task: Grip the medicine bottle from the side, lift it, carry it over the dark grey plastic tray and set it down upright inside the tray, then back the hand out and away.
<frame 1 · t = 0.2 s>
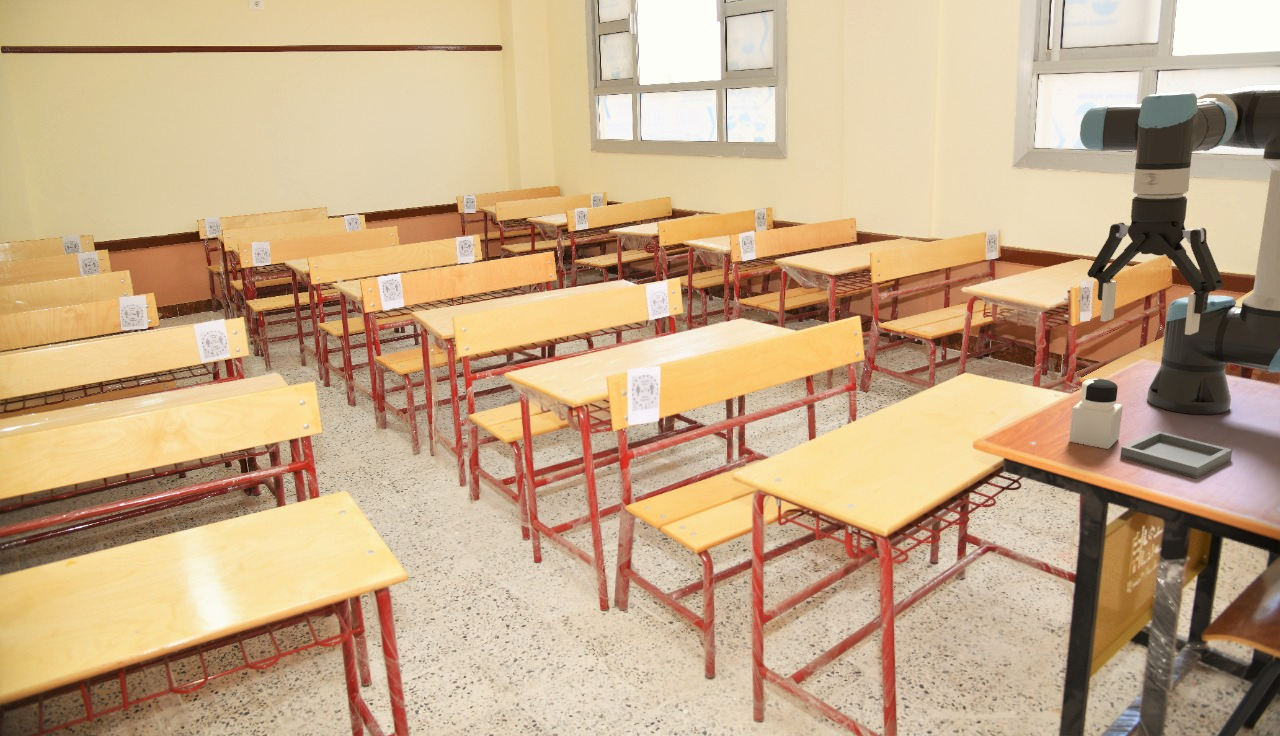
hand: (1147, 326, 145), 27 cm above the table, tool pointing down, fingers open, 13 cm apart
medicine bottle: (1093, 441, 171), on the table
bottle tray: (1174, 458, 161), on the table
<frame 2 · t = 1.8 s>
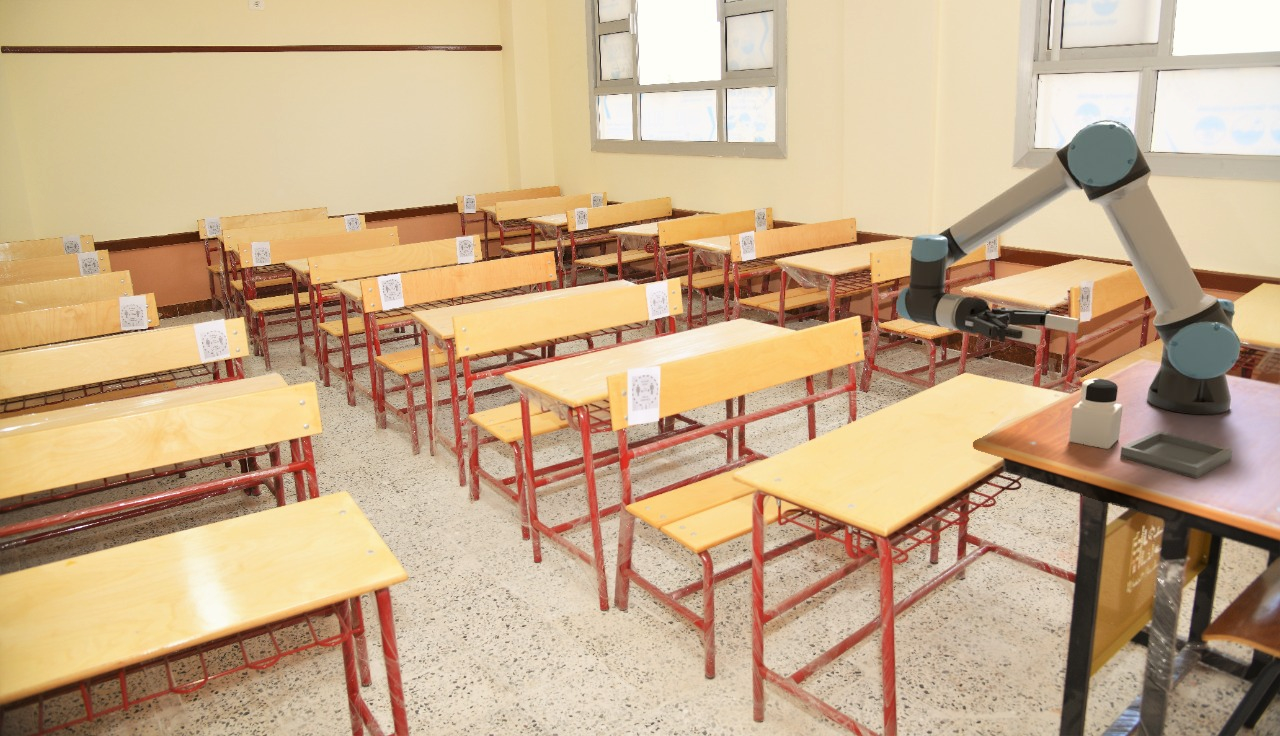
hand: (1059, 331, 173), 20 cm above the table, tool horizontal, fingers open, 13 cm apart
nothing on the table moved.
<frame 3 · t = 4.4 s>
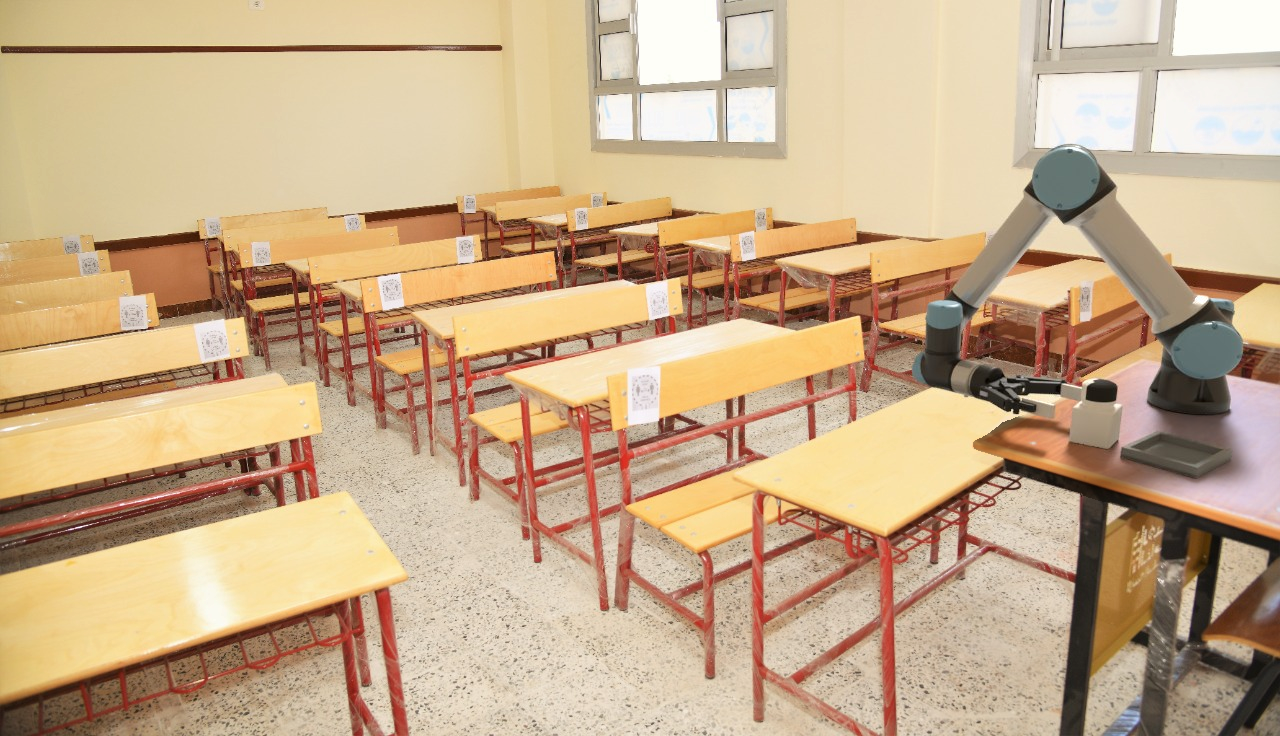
hand: (1073, 404, 173), 6 cm above the table, tool horizontal, fingers open, 13 cm apart
nothing on the table moved.
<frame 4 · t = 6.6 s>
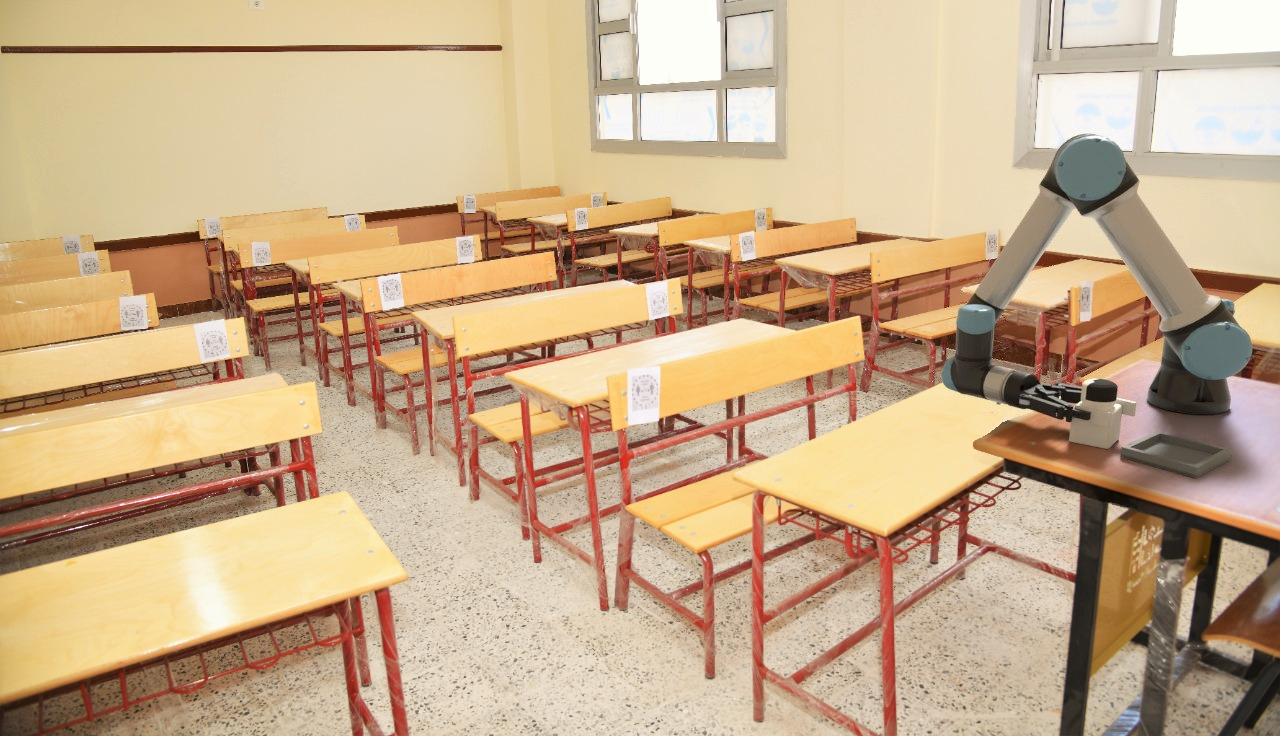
hand: (1122, 414, 166), 7 cm above the table, tool horizontal, fingers closed on medicine bottle, 8 cm apart
medicine bottle: (1093, 441, 171), on the table, touching gripper
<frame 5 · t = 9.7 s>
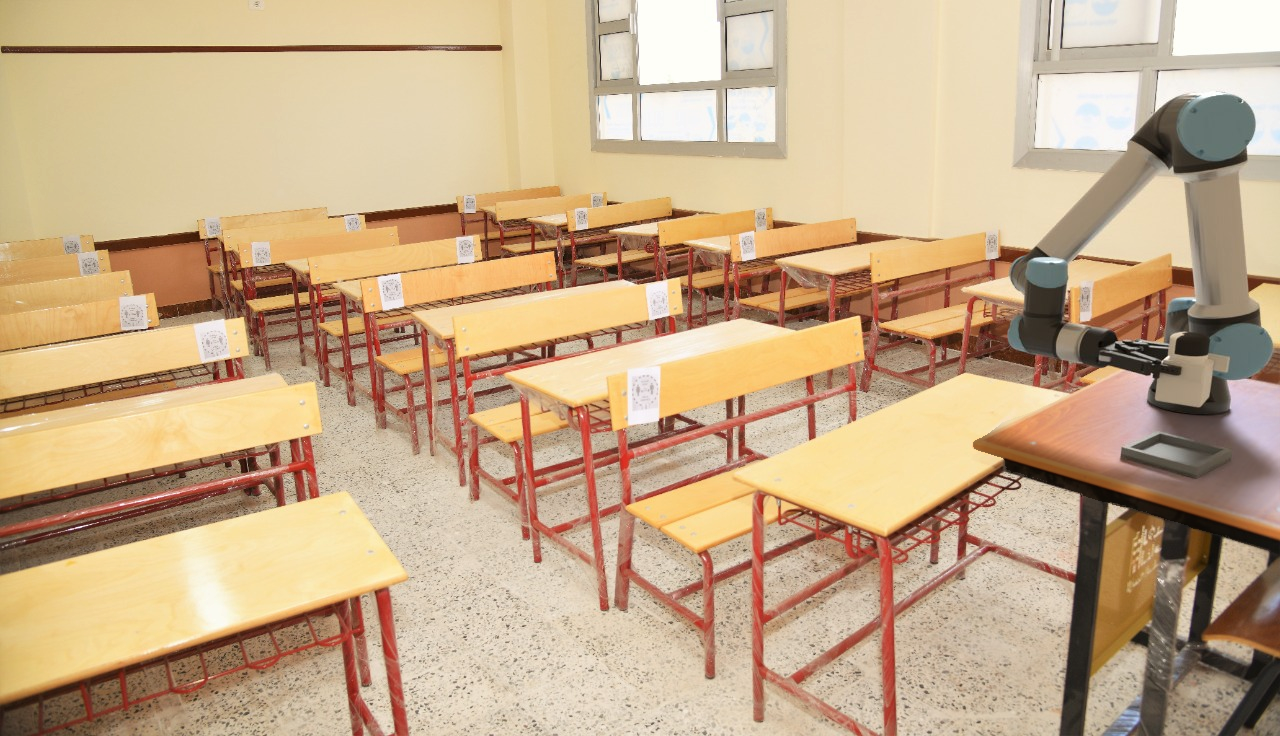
hand: (1215, 369, 153), 18 cm above the table, tool horizontal, fingers closed on medicine bottle, 8 cm apart
medicine bottle: (1181, 400, 158), point 11 cm above the table, touching gripper
when the fingers open (8 cm above the table, at t = 12.8 s): medicine bottle drops 1 cm, resting on bottle tray.
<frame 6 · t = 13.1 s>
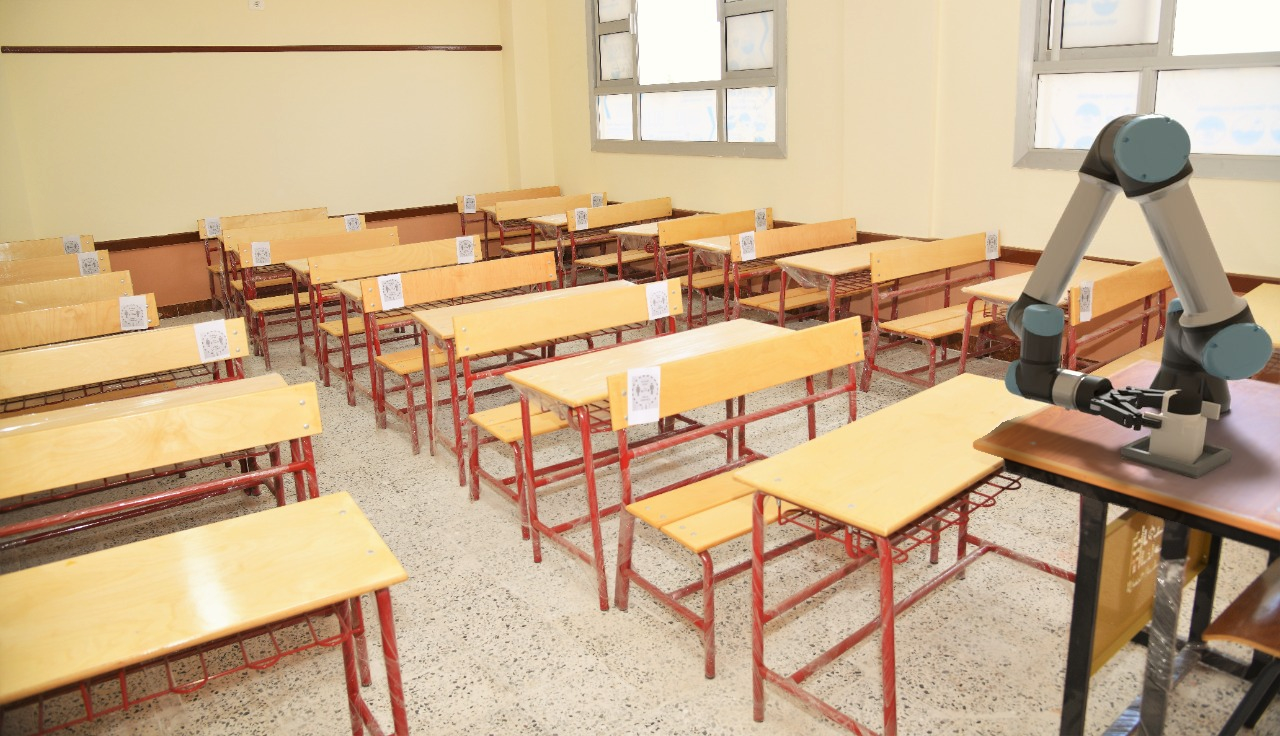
hand: (1201, 420, 156), 8 cm above the table, tool horizontal, fingers open, 12 cm apart
medicine bottle: (1174, 456, 161), resting on bottle tray
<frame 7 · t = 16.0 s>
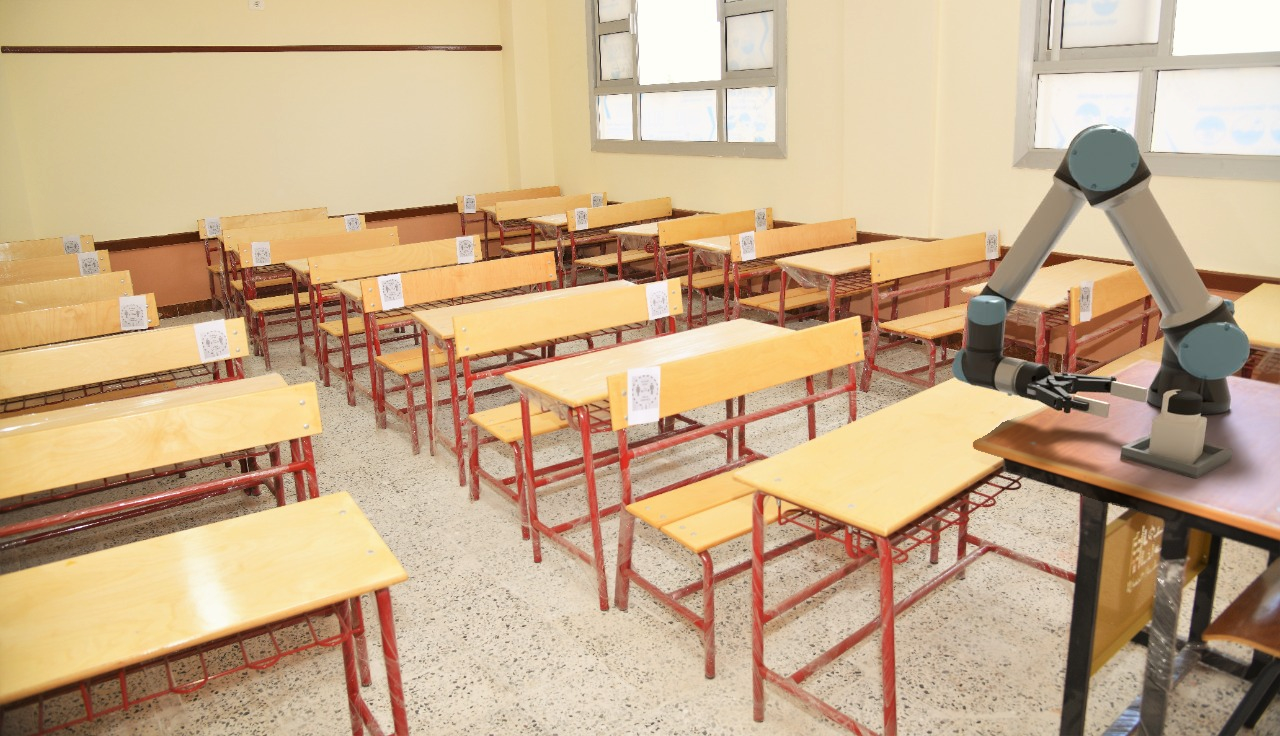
hand: (1127, 402, 167), 8 cm above the table, tool horizontal, fingers open, 13 cm apart
nothing on the table moved.
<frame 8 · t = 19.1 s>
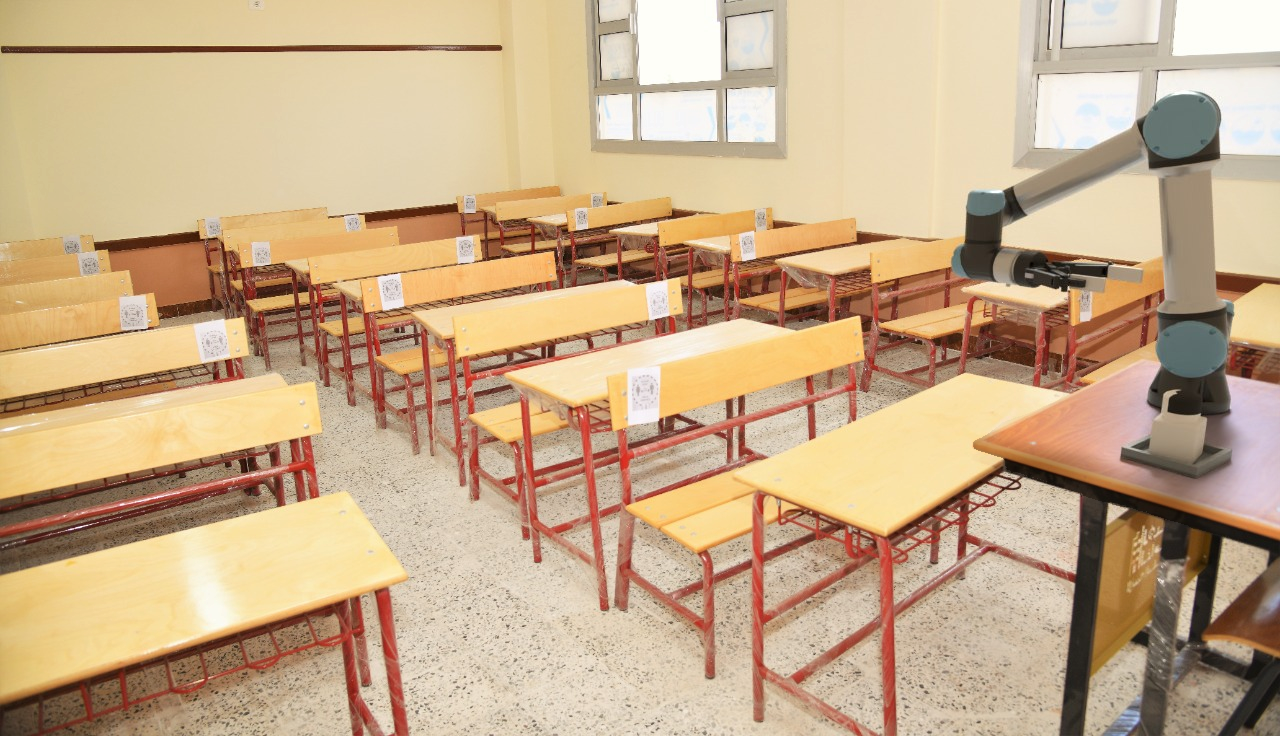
hand: (1123, 280, 169), 30 cm above the table, tool horizontal, fingers open, 13 cm apart
nothing on the table moved.
at the end: medicine bottle 0.1 cm off-centre on the bottle tray, point 0.4 cm above the bottle tray's base; medicine bottle tilted 0°; the gripper is holding nothing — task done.
